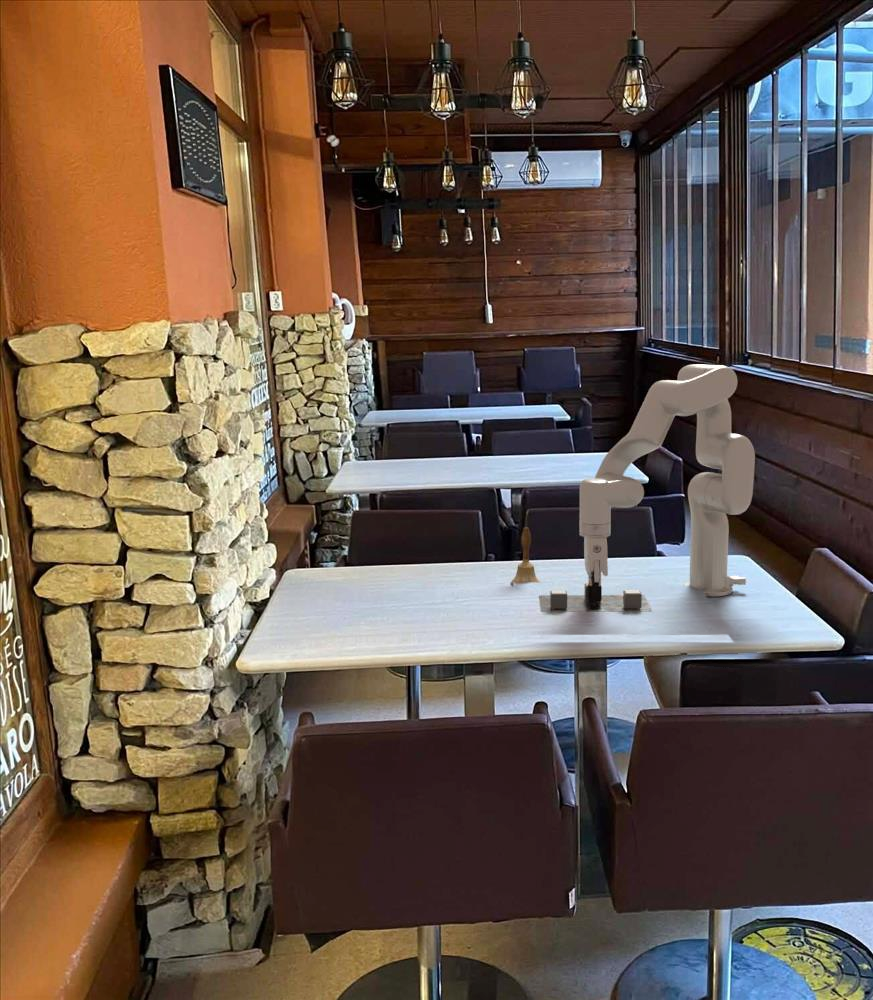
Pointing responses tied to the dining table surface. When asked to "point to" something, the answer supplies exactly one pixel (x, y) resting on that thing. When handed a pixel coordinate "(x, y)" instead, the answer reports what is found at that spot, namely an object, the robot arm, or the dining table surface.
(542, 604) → the panel
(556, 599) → the breaker
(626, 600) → the block
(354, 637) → the dining table surface
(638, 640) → the dining table surface
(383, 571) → the dining table surface
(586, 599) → the block
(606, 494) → the robot arm
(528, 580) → the hand bell
